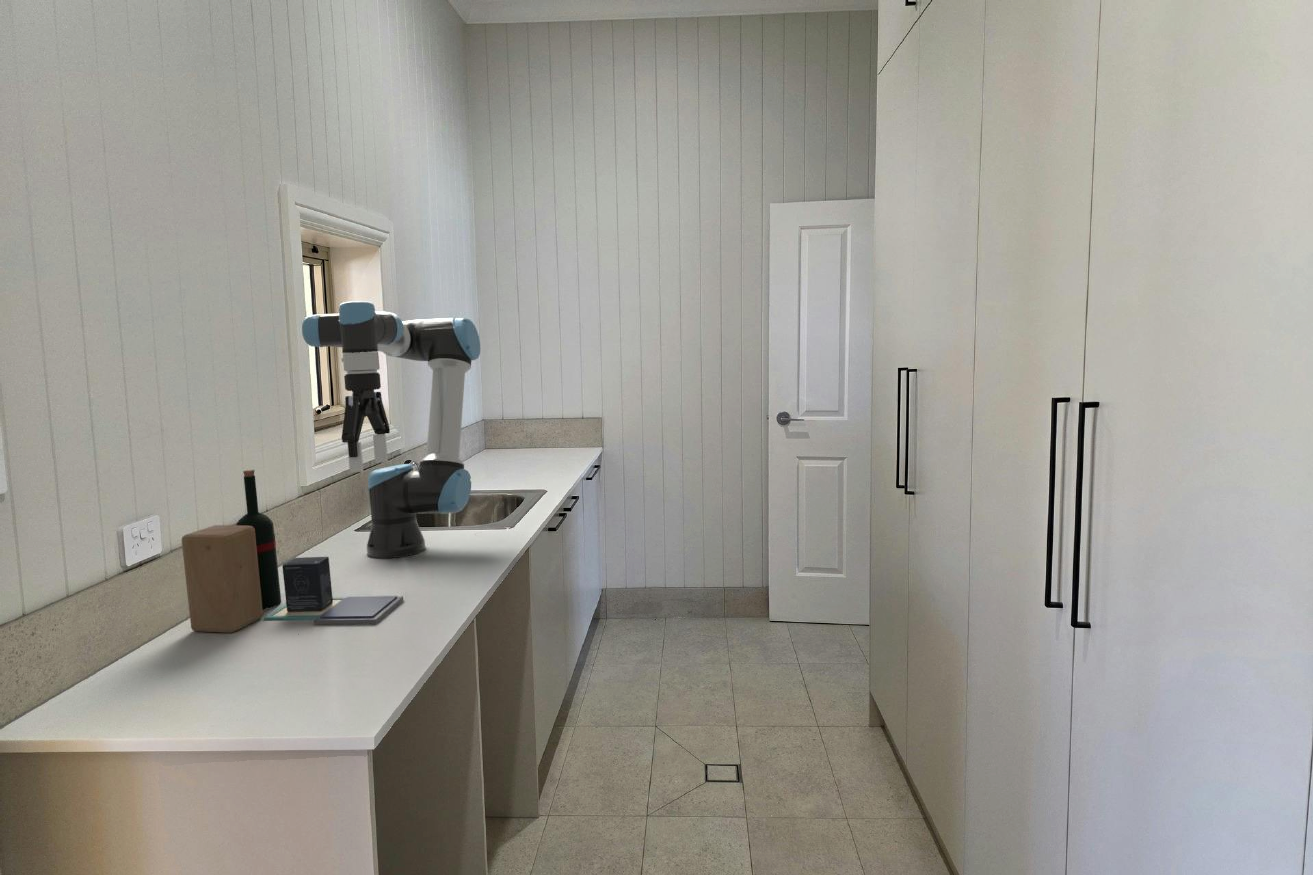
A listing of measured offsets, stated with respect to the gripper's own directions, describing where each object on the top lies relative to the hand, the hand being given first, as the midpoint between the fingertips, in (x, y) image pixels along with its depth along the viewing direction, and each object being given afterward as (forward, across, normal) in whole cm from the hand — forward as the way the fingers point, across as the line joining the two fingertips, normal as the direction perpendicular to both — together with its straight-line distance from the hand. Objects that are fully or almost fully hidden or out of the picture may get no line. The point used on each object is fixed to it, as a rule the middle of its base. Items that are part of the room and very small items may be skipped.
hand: (369, 467), depth 191 cm
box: (+29, +12, -10) cm, 33 cm away
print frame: (+29, +12, -10) cm, 33 cm away
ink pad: (+29, +15, +2) cm, 32 cm away
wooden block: (+29, +22, -23) cm, 43 cm away
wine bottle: (+29, +8, -23) cm, 38 cm away
